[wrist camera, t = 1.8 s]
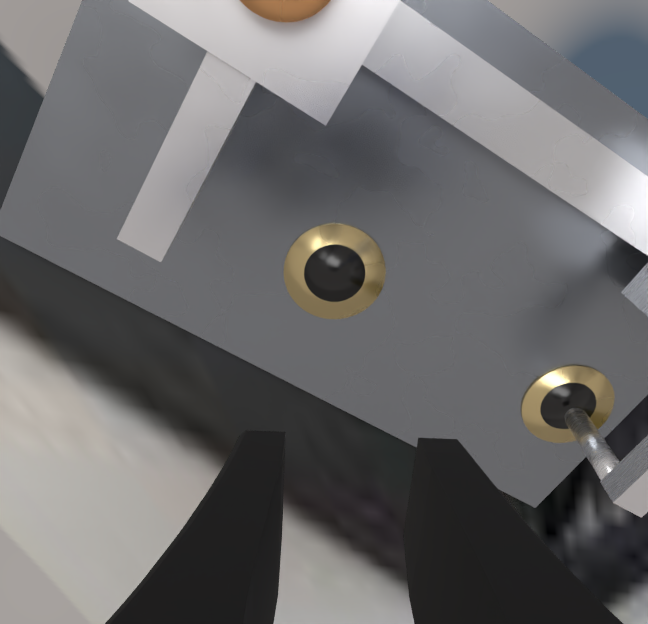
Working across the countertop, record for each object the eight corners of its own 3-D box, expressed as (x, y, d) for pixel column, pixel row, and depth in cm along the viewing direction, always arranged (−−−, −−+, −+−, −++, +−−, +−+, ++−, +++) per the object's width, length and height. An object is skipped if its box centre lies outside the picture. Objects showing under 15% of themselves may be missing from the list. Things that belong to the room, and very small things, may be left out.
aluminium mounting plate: (785, 227, 18) (1005, 322, 12) (528, 492, 22) (600, 654, 17) (180, -219, 13) (76, -402, 8) (5, 223, 18) (-146, 318, 12)
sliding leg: (415, -58, 14) (463, -101, 9) (243, 240, 17) (214, 322, 12) (262, -172, 13) (229, -283, 8) (109, 165, 16) (21, 222, 11)
